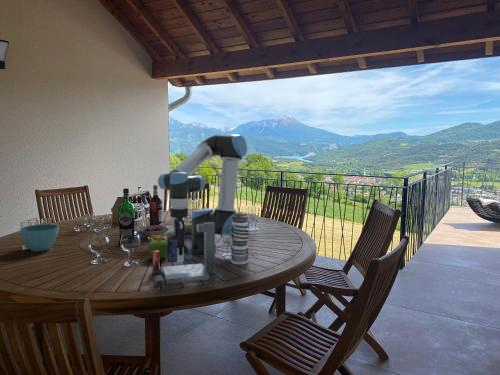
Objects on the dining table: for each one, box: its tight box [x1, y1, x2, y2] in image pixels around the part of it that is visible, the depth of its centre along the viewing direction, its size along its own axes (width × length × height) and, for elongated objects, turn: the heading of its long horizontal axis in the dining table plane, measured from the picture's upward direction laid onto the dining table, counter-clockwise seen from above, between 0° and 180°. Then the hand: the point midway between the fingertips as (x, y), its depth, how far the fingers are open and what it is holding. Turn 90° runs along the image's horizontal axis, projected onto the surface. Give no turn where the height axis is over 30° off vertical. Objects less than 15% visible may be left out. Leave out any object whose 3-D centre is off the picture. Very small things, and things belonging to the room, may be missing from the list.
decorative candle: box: [230, 211, 250, 265], centre depth 173 cm, size 9×9×25 cm
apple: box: [147, 239, 167, 260], centre depth 177 cm, size 11×10×10 cm
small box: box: [166, 234, 193, 263], centre depth 152 cm, size 11×6×10 cm, turn 106°
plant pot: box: [19, 223, 60, 253], centre depth 189 cm, size 18×18×12 cm
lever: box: [151, 250, 162, 275], centre depth 154 cm, size 4×4×10 cm
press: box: [152, 222, 216, 288], centre depth 153 cm, size 18×26×23 cm
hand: (179, 259), depth 153 cm, fingers closed on small box, 7 cm apart
